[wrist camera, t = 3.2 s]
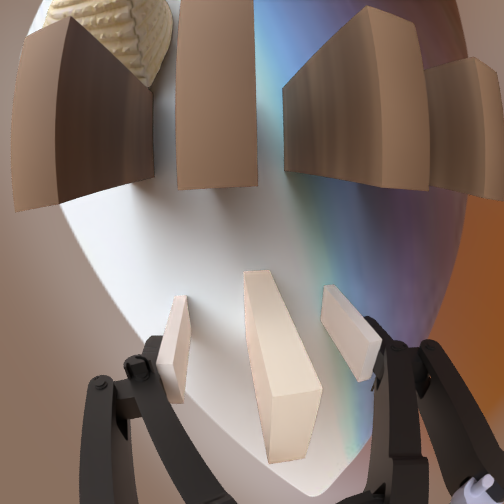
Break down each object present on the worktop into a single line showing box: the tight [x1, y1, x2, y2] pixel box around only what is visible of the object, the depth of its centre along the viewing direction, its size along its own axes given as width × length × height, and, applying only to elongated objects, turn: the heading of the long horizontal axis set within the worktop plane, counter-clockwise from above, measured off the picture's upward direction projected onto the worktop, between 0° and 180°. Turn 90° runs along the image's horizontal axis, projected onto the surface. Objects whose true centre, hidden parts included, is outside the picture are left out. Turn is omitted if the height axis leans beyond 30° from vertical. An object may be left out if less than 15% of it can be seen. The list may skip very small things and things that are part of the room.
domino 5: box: [424, 57, 504, 201], centre depth 10 cm, size 2×5×10 cm, turn 1°
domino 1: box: [11, 16, 154, 212], centre depth 9 cm, size 2×5×10 cm, turn 1°
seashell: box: [43, 0, 173, 88], centre depth 9 cm, size 8×8×8 cm
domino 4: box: [282, 5, 430, 191], centre depth 10 cm, size 2×5×10 cm, turn 1°
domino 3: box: [243, 270, 323, 464], centre depth 13 cm, size 2×5×10 cm, turn 2°
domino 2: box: [175, 0, 258, 190], centre depth 9 cm, size 2×5×10 cm, turn 2°
